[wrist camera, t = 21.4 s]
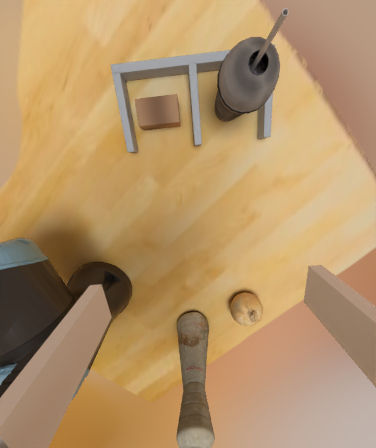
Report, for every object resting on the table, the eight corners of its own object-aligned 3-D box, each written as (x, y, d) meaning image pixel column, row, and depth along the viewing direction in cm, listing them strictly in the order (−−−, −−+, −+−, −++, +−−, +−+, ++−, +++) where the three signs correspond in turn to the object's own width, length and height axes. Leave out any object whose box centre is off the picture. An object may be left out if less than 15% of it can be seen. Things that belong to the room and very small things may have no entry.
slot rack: (132, 152, 35) (127, 151, 33) (117, 73, 31) (110, 64, 28) (263, 138, 35) (270, 136, 32) (266, 55, 30) (274, 44, 28)
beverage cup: (204, 126, 34) (226, 79, 15) (211, 80, 32) (247, -43, 13) (241, 132, 34) (308, 93, 15) (250, 87, 32) (343, -23, 13)
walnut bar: (144, 130, 34) (139, 126, 30) (140, 106, 33) (134, 99, 29) (180, 126, 34) (179, 121, 30) (178, 102, 33) (176, 94, 29)
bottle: (210, 310, 48) (237, 487, 22) (206, 334, 51) (226, 517, 25) (178, 308, 48) (167, 485, 22) (176, 333, 51) (164, 516, 25)
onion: (260, 308, 48) (271, 331, 42) (231, 315, 49) (238, 339, 42) (254, 284, 46) (266, 305, 39) (224, 292, 47) (231, 314, 40)
